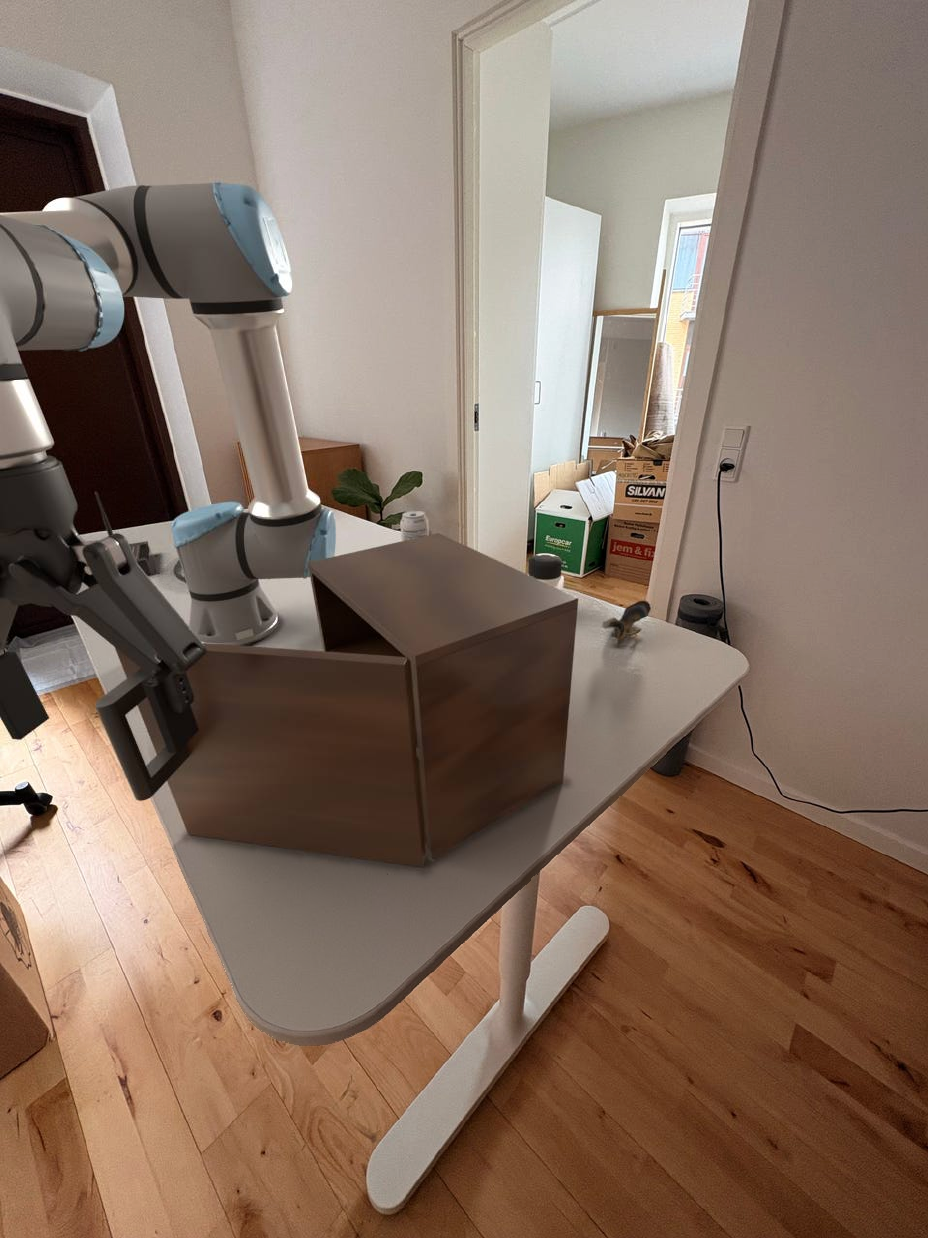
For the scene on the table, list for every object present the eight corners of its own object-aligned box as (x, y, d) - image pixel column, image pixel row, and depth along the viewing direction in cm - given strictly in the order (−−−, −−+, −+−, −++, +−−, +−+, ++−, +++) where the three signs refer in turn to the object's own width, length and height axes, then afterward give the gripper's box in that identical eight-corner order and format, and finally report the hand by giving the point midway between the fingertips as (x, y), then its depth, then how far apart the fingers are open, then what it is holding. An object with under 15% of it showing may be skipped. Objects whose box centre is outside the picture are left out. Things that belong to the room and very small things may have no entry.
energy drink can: (433, 573, 120) (429, 509, 113) (429, 583, 114) (425, 517, 107) (408, 573, 120) (402, 509, 113) (402, 583, 115) (396, 517, 108)
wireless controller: (159, 573, 124) (136, 503, 116) (91, 585, 119) (62, 512, 111) (159, 549, 140) (139, 486, 132) (99, 559, 134) (75, 493, 126)
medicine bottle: (560, 625, 95) (564, 565, 90) (522, 622, 97) (523, 563, 91) (562, 608, 101) (565, 551, 96) (525, 606, 103) (527, 549, 97)
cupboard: (431, 859, 52) (415, 656, 41) (336, 724, 71) (307, 562, 60) (563, 782, 61) (578, 598, 50) (446, 681, 80) (438, 532, 69)
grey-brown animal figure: (652, 648, 85) (660, 616, 91) (631, 615, 83) (640, 585, 89) (611, 659, 90) (621, 628, 96) (590, 628, 88) (602, 599, 94)
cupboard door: (407, 925, 46) (380, 710, 35) (149, 884, 50) (54, 681, 39) (426, 857, 52) (408, 657, 41) (194, 826, 56) (123, 637, 45)
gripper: (-269, 473, 29) (-77, 755, 39) (123, 475, 26) (225, 783, 36) (-120, 450, 36) (12, 696, 46) (208, 449, 33) (274, 715, 42)
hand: (106, 735), depth 41 cm, fingers open, 13 cm apart
